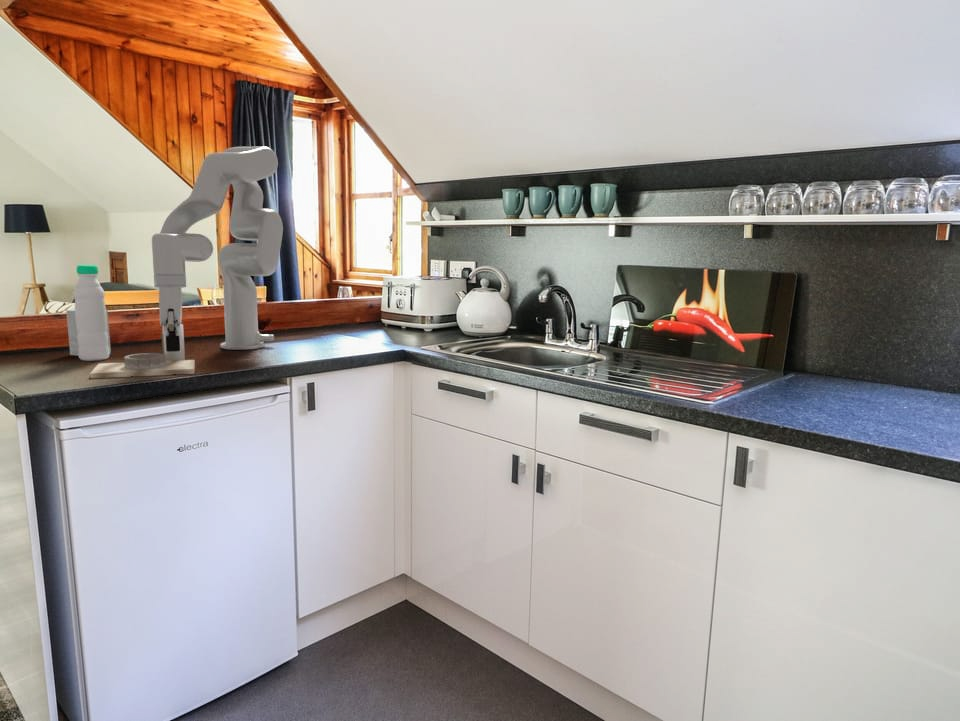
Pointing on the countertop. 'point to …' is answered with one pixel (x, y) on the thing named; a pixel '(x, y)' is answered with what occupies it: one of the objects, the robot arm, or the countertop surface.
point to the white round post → (175, 354)
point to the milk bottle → (90, 315)
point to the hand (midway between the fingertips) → (174, 348)
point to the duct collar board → (143, 366)
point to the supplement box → (73, 332)
